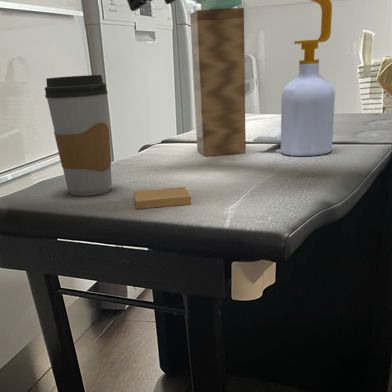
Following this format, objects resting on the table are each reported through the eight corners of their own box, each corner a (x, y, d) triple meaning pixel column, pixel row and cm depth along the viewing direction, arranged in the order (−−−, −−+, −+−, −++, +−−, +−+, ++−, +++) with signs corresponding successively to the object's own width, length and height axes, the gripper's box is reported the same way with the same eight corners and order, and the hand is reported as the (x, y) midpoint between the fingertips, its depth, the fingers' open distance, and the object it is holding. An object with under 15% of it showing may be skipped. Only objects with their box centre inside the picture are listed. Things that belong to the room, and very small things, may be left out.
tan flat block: (136, 209, 69) (135, 201, 68) (134, 198, 74) (133, 191, 73) (191, 204, 69) (190, 196, 69) (185, 194, 75) (184, 186, 74)
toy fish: (311, 138, 114) (312, 118, 112) (279, 153, 101) (279, 129, 99) (287, 138, 117) (287, 118, 115) (252, 152, 103) (251, 129, 101)
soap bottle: (275, 150, 103) (277, -4, 91) (322, 147, 104) (330, -7, 92) (287, 158, 95) (290, -10, 83) (338, 154, 96) (349, -14, 84)
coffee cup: (90, 183, 85) (75, 75, 78) (130, 187, 81) (118, 73, 74) (49, 194, 79) (28, 79, 72) (90, 200, 75) (72, 77, 68)
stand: (203, 156, 102) (196, 10, 91) (197, 150, 109) (190, 13, 98) (245, 153, 103) (243, 7, 92) (236, 147, 110) (233, 11, 99)
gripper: (244, -82, 79) (167, -30, 90) (184, -79, 70) (107, -22, 81) (260, -24, 82) (183, 20, 93) (204, -14, 73) (127, 33, 84)
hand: (147, 0), depth 87 cm, fingers open, 8 cm apart
